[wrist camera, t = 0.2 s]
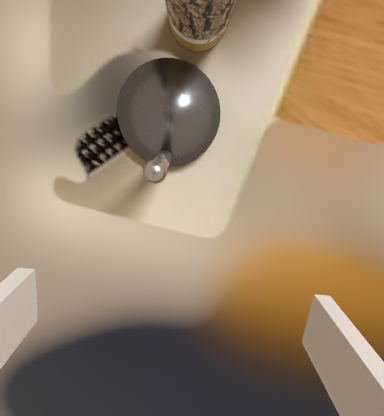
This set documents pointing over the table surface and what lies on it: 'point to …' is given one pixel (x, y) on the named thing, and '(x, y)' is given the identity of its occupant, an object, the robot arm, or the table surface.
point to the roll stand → (168, 114)
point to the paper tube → (199, 21)
